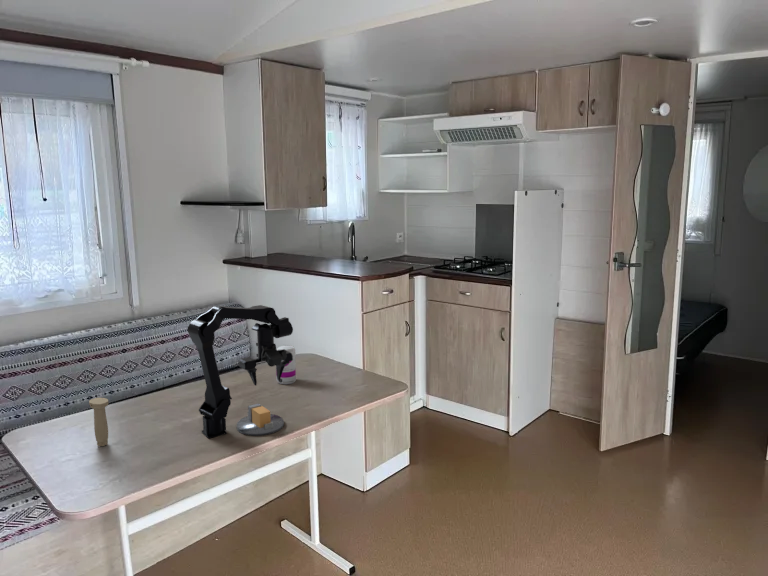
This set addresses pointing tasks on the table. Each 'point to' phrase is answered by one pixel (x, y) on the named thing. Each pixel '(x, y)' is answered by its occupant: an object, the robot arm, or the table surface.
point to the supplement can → (288, 367)
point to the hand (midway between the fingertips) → (267, 382)
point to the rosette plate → (253, 430)
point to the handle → (100, 420)
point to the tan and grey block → (258, 415)
